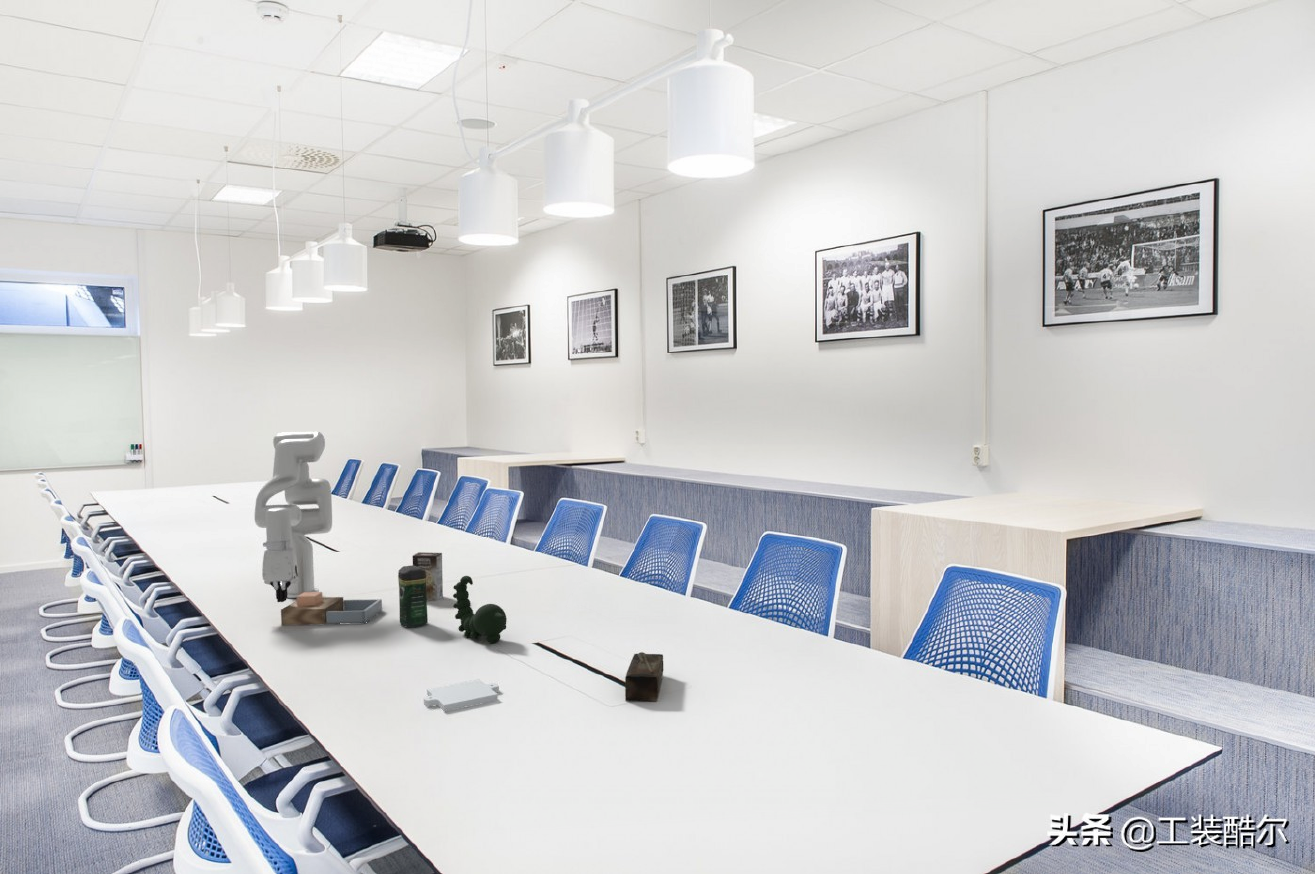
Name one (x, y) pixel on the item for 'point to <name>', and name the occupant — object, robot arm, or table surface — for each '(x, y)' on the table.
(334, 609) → the platform
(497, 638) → the toy figurine
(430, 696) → the mounting plate
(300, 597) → the block
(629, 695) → the dark brown boxy piece
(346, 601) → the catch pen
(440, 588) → the coffee box
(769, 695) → the table surface
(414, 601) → the coffee jar
